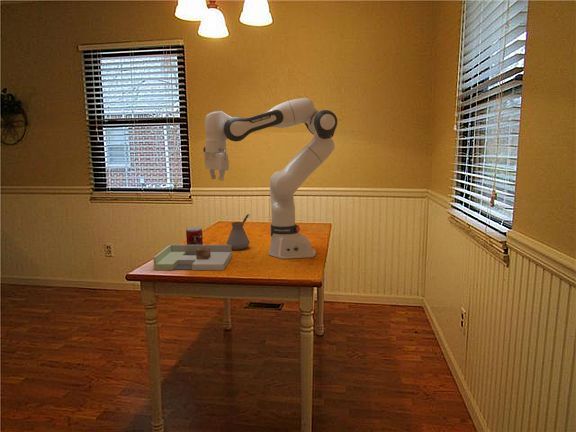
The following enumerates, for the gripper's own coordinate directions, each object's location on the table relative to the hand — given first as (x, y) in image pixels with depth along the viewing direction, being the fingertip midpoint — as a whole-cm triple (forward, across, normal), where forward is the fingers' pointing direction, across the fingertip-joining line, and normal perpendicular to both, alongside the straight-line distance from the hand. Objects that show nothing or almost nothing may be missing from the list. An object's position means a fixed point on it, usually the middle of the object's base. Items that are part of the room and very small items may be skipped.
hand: (217, 179), depth 179 cm
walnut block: (+33, -6, +10) cm, 35 cm away
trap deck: (+36, -4, +13) cm, 38 cm away
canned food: (+36, +18, +6) cm, 41 cm away
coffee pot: (+36, +13, -17) cm, 42 cm away
